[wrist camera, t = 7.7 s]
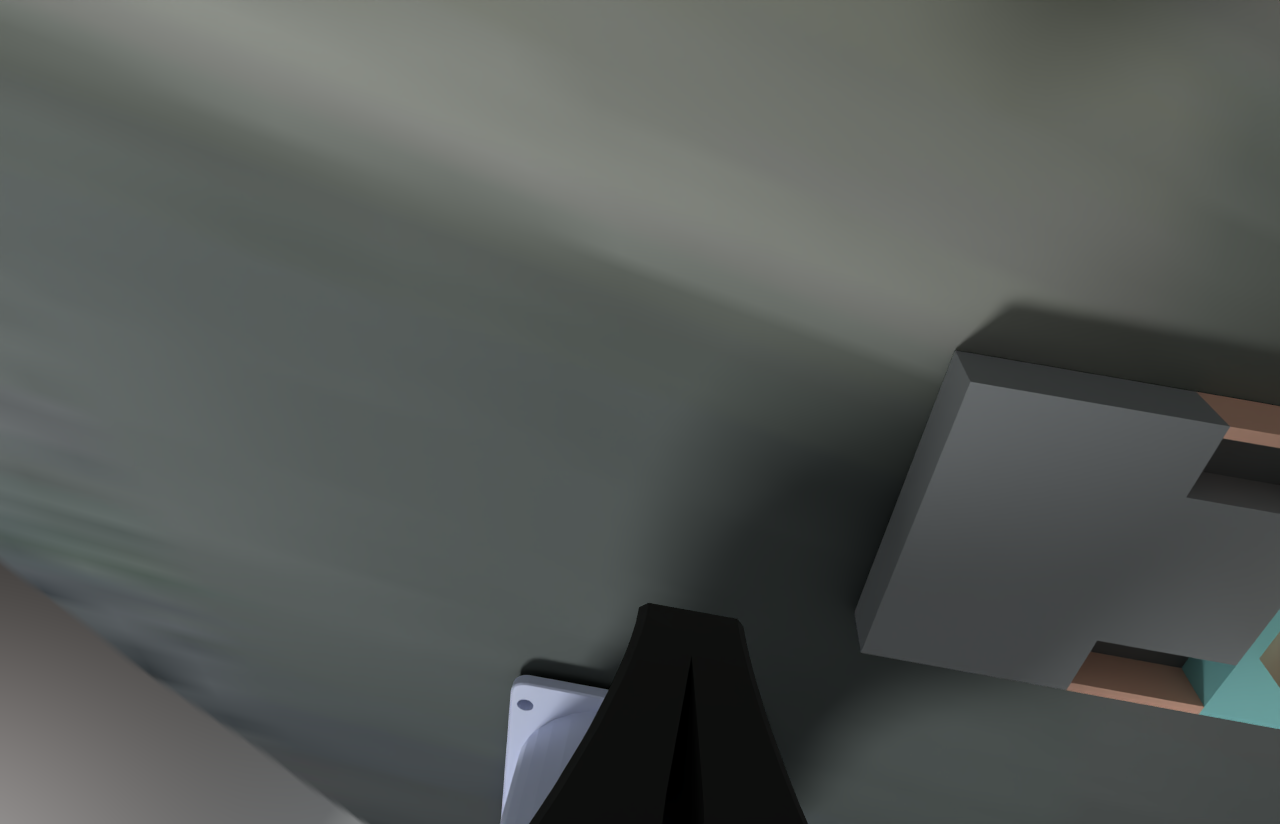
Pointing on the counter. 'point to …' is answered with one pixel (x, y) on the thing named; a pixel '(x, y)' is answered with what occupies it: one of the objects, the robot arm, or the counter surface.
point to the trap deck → (1087, 540)
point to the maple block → (1273, 659)
